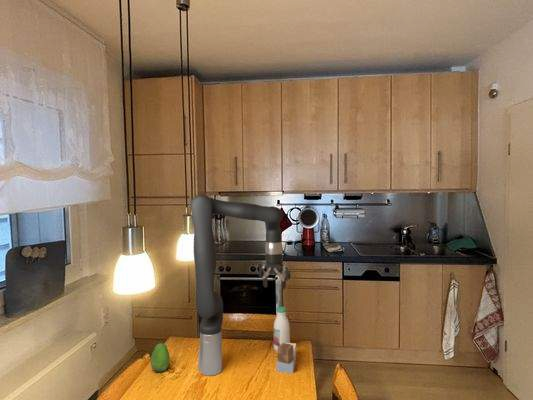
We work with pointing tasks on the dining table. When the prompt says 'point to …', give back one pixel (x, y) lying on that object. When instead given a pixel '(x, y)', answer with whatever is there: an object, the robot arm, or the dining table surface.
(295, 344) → the beige block
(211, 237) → the robot arm
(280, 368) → the base block
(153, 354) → the avocado
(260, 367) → the dining table surface
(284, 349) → the walnut block
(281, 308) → the milk bottle
